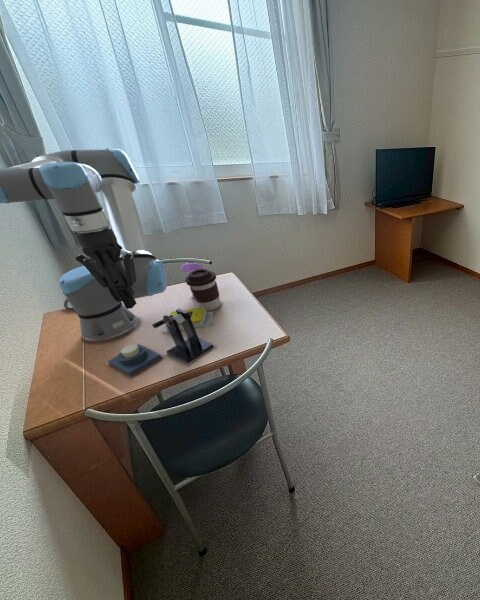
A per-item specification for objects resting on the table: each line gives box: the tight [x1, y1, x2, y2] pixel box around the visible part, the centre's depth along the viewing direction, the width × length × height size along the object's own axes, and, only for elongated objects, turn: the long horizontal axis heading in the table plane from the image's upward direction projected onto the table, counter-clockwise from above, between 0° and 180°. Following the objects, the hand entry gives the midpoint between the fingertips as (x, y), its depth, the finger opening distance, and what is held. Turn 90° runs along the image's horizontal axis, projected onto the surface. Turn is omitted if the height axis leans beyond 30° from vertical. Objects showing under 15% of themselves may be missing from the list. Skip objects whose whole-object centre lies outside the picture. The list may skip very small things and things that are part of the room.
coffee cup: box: [184, 268, 221, 311], centre depth 122 cm, size 10×10×15 cm
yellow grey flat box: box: [162, 307, 214, 333], centre depth 116 cm, size 9×4×15 cm
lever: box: [151, 314, 185, 329], centre depth 99 cm, size 12×6×2 cm, turn 64°
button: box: [120, 344, 140, 358], centre depth 96 cm, size 4×4×2 cm
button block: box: [107, 344, 163, 377], centre depth 98 cm, size 11×9×4 cm
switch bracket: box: [162, 308, 214, 364], centre depth 100 cm, size 10×9×15 cm
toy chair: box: [181, 262, 205, 299], centre depth 131 cm, size 8×9×15 cm
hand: (131, 305), depth 93 cm, fingers closed
